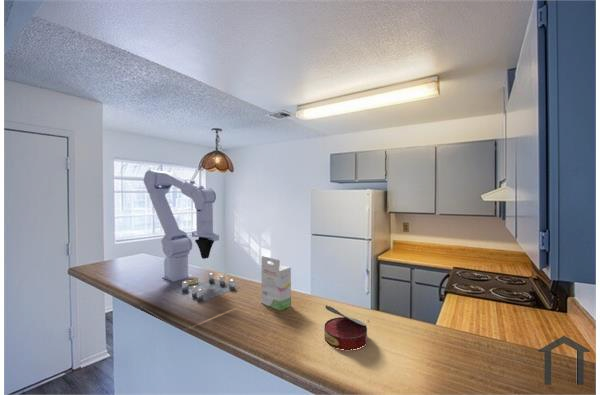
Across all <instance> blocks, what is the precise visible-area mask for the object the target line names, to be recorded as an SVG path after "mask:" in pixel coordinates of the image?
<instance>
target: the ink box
mask: <svg viewBox="0 0 600 395" xmlns="http://www.w3.org/2000/svg"><path fill="white" fill-rule="evenodd" d="M280 261H281V260H279V259H277V258H273V257H268V256H264V255H262V256H261V268H260V269H261V270H260V271H261V304H262V303H263V304H262V305H265V306H267V307H269V306H270V308H272V309H274V310H277V311H278V312H281V311H284V310H285V308H286V309H288V308H290V307H292V275H291V274H292V271H291V270H292V268H291V266H285V265H281V262H280ZM269 262H270V263H269Z"/></svg>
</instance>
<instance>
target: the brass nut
mask: <svg viewBox="0 0 600 395" xmlns="http://www.w3.org/2000/svg"><path fill="white" fill-rule="evenodd" d="M183 281H188V286H193V285H197V284H199V278H198V277H196V276H195V277H194V276H192V277H188V278H185V279H183Z"/></svg>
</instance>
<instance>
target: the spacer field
mask: <svg viewBox="0 0 600 395" xmlns="http://www.w3.org/2000/svg"><path fill="white" fill-rule="evenodd" d="M238 289H241V287H240V286H237V285H236V280H235V279H234V278H231V279H229V280H228V282H226V275H220V276H219V280H218V279H216V278H215V273H214V272H209V273H208V280H206V281H204V282H201V283H200V282H199V283H197V284H195V285H188V281H184V280H183V281H182V282H181V288H180V289H177V290H174V292H175V293H177V294H180V295H182V296H184V297H186V298H189V299H191V300H194V301H196V302H198V303H201V302H204V301H207V300H210V299H212V298H215V297H218V296H222V295H224V294H227V293H229V292H232V291H235V290H238Z"/></svg>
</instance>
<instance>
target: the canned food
mask: <svg viewBox="0 0 600 395" xmlns="http://www.w3.org/2000/svg"><path fill="white" fill-rule="evenodd" d="M324 308H325V310H327V311H329V312H331V313H333V314H335V315H339V316H340V317H333V318H330V319H329V320H327V321H326V322H325V323H324V327H323V328H324V341H325V343H326V342H327V343H328V344H329V346H330V347H331V346H332V348H333V347H335V348H334V349H336V348H339V349H344V350H343V351H345V350H351V349H352V350H353V349H357V348H360V347H362V346H364V345H365V344H366V342H367V343H368V327H367V324H366V323H364V322H362V321H361V320H358V319H356V318H353V317H349V316H347V315H345V314H342V313H341V312H340V311H338V310H337V309H335V308H334V307H332V306H330V305H329V306H328V305H327V304H326V305H325V307H324ZM327 343H326V344H327ZM328 344H327V345H328ZM366 345H367V344H366ZM366 345H365V346H366ZM365 346H364V347H365ZM339 349H338V350H339ZM353 351H354V350H353Z"/></svg>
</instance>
